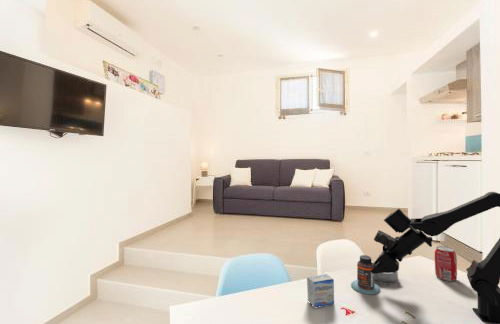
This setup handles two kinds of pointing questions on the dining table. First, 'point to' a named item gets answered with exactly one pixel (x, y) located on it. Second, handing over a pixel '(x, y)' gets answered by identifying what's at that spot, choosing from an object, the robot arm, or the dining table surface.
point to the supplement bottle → (365, 273)
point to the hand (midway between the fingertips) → (373, 267)
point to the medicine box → (320, 290)
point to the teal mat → (359, 289)
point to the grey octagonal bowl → (386, 277)
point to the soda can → (445, 263)
